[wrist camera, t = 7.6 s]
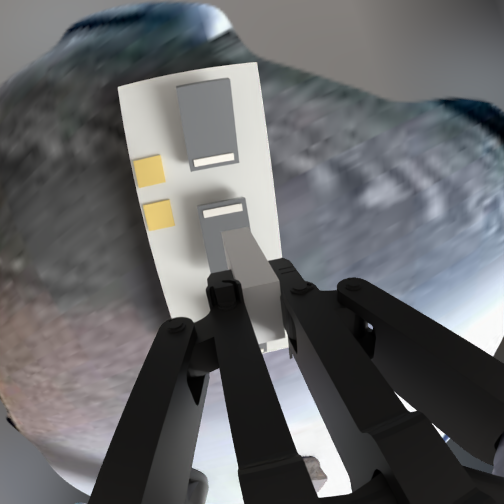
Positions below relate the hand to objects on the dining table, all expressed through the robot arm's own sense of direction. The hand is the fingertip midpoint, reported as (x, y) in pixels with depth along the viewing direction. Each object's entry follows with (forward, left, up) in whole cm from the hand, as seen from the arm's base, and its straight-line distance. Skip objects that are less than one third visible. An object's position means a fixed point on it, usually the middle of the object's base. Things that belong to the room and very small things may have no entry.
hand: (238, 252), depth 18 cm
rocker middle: (0, -3, -9) cm, 10 cm away
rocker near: (0, +7, -9) cm, 12 cm away
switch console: (-1, -3, -16) cm, 16 cm away
